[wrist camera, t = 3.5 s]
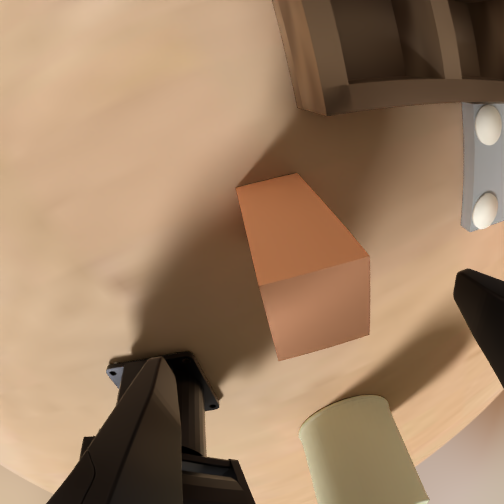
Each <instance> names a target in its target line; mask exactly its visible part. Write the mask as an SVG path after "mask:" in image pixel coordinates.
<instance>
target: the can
mask: <svg viewBox="0 0 504 504" xmlns="http://www.w3.org/2000/svg"><path fill="white" fill-rule="evenodd" d="M299 438H300V440H301V442H302V445H303V448H304V451H305V455H306V459H307V463H308V466H309V470H310V474H311V479H312V483H313V487H314V491H315V495H316V499H317V503H318V504H427V503H428V502H429V500H430V499H429V498H428V496H427V494H426V492H425V490H424V487H423V485H422V483H421V480H420V478H419V476H418V474H417V471H416V469H415V467H414V464H413V462H412V460H411V458H410V455H409V453H408V451H407V448H406V446H405V444H404V441H403V439H402V437H401V435H400V432H399V430H398V428H397V426H396V423H395V421H394V419H393V416H392V414H391V411H390V409H389V404H388V402H387V400H386V399H385V398H383V397H381V396H378V395H361V396H355V397H351V398H347V399H344V400H341V401H338V402H336V403H333V404H331V405H329V406H327V407H325V408H323V409H321V410H319V411H318V412H316V413H315V414H313V415H312V416H311V417H309V418H308V419H307V420H306V421H305V422H304V423H303V424H302V426H301V428H300V430H299Z"/></svg>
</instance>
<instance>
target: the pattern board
mask: <svg viewBox="0 0 504 504" xmlns="http://www.w3.org/2000/svg"><path fill="white" fill-rule="evenodd" d="M462 114H463V135H464V181H463V202H462V216H461V226H462V227H463V228H465V229H466V230H467V231H469V232H472V231H475V230H478V229H485V228H487V227H488V226H490V225H493V224H496V223H499V222H502V221H504V102H462Z"/></svg>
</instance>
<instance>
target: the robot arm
mask: <svg viewBox="0 0 504 504" xmlns="http://www.w3.org/2000/svg"><path fill="white" fill-rule="evenodd" d="M453 296H454V300H455V302H456V304H457V305H458V307H459V309H460V311H461V313H462V315H463V317H464V319H465V321H466V323H467V325H468V327H469V329H470V331H471V332H472V334H473V336H474V338H475V340H476V341H477V343H478V345H479V346H480V348H481V350H482V351H483V353H484V355H485V356H486V358H487V360H488V361H489V363H490V365H491V367H492V368H493V370H494V372H495V374H496V375H497V377H498V379H499V381H500V382H501V384H502V386H503V388H504V281H502V280H499V279H496V278H493V277H491V276H488V275H485V274H483V273H480V272H477V271H474V270H471V269H465V270H462V271H460V272H458V273H457V275H456V280H455V286H454V292H453ZM106 373H107V375H108V376H109V377H110V379H111V380H112V381H113V382H114V384H115V385H116V386H117V387H118V389H119V392H118V398H117V403H116V407H115V408H114V410H113V411H112V413H111V414H110V416H109V417H108V419H107V420H106V422H105V423H104V425H103V426H102V428H101V429H99V432H98V433H97V435H96V436H93V437H84V439H83V443H82V448H81V453H80V459H79V462H78V463H77V465H76V466H75V468H74V469H73V470H72V472H71V473H70V475H69V476H68V477H67V478H66V480H65V481H64V482H63V484H62V485H61V486H60V487H59V489H58V490H57V491H56V492H55V493H54V495H53V496H52V497H51V499H50V500H49V501H48V502H47V503H46V504H255V501H254V499H253V497H252V494H251V492H250V489H249V487H248V484H247V482H246V479H245V477H244V474H243V472H242V469H241V467H240V464H239V462H238V460H233V459H228V460H224V459H217V458H211V457H207V456H206V434H205V411H209V410H215V409H218V408H219V400H218V399H217V397H216V395H215V393H214V392H213V390H212V388H211V386H210V384H209V382H208V381H207V379H206V377H205V375H204V373H203V371H202V370H201V368H200V366H199V364H198V362H197V360H196V358H195V356H194V355H193V354H192V353H191V352H180V353H175V354H170V355H164V356H159V357H153V358H148V359H142V360H136V361H130V362H124V363H117V364H111V365H108V366H107V370H106Z"/></svg>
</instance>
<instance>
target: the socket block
mask: <svg viewBox="0 0 504 504" xmlns="http://www.w3.org/2000/svg"><path fill="white" fill-rule="evenodd" d="M272 2H273V6H274V9H275V13H276V17H277V21H278V25H279V29H280V33H281V37H282V41H283V45H284V49H285V53H286V58H287V62H288V66H289V71H290V75H291V80H292V84H293V89H294V94H295V98H296V103H297V108H300V109H304V110H307V111H311V112H314V113H318V114H321V115H325V116H331V115H337V114H343V113H350V112H357V111H364V110H372V109H381V108H389V107H399V106H410V105H422V104H436V103H455V102H504V0H272Z"/></svg>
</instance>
